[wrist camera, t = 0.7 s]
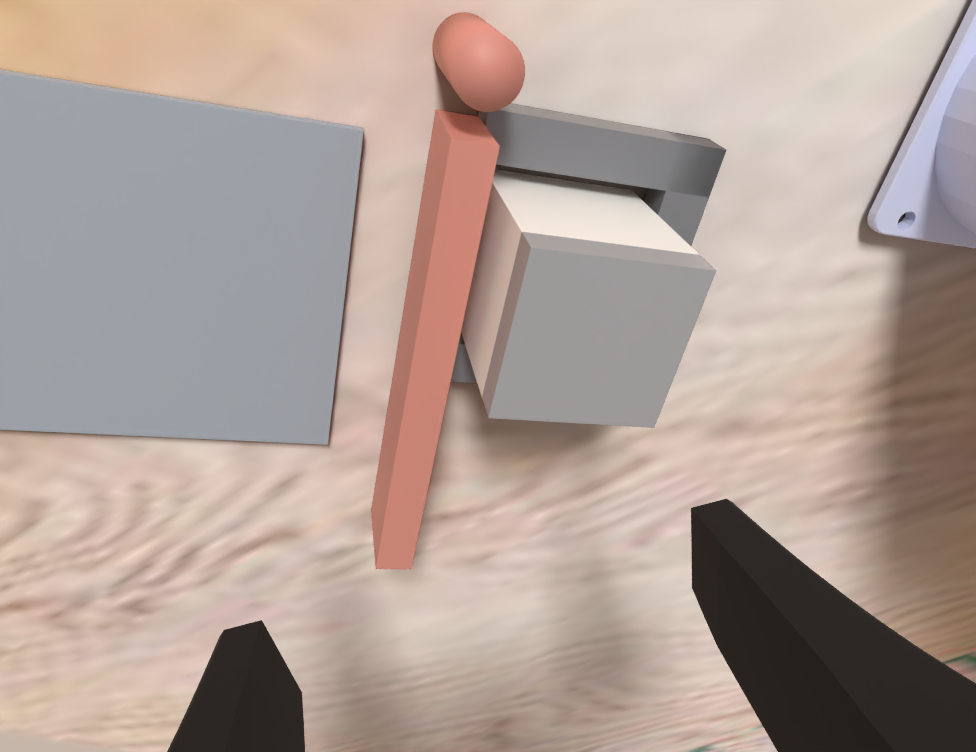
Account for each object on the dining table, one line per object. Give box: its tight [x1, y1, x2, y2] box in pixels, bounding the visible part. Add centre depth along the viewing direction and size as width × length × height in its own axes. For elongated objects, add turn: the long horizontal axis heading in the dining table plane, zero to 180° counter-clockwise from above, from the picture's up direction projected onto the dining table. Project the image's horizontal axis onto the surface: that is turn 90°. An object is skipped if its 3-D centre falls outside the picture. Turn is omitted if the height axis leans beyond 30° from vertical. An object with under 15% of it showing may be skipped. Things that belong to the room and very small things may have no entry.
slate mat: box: [0, 70, 364, 445], centre depth 17 cm, size 12×9×1 cm
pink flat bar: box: [371, 13, 525, 569], centre depth 18 cm, size 1×14×3 cm, turn 169°
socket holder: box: [451, 103, 726, 383], centre depth 19 cm, size 6×7×1 cm
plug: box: [461, 169, 716, 428], centre depth 17 cm, size 4×4×5 cm
